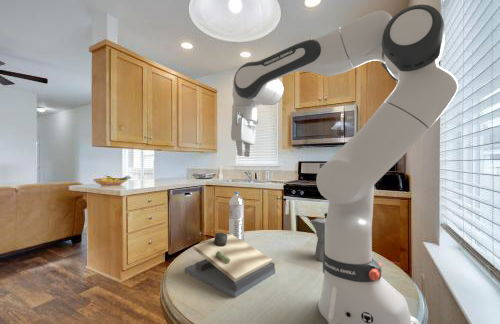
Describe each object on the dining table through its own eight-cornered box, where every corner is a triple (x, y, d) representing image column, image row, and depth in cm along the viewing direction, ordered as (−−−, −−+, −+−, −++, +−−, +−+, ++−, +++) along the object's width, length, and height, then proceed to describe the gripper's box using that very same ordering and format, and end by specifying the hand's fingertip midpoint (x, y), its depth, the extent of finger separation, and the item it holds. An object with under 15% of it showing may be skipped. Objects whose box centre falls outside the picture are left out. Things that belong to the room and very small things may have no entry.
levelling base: (275, 272, 81) (275, 262, 81) (235, 297, 65) (235, 285, 66) (226, 255, 96) (226, 246, 96) (184, 272, 81) (184, 261, 81)
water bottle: (241, 250, 102) (242, 192, 103) (226, 248, 104) (227, 192, 104) (245, 244, 109) (245, 191, 109) (231, 243, 110) (231, 190, 111)
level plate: (271, 262, 81) (273, 251, 80) (234, 282, 67) (237, 268, 66) (231, 237, 93) (233, 227, 93) (193, 249, 80) (195, 237, 79)
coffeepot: (311, 262, 90) (312, 215, 90) (307, 253, 99) (307, 210, 100) (353, 263, 89) (353, 216, 89) (344, 254, 98) (344, 211, 98)
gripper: (246, 109, 71) (245, 155, 71) (258, 121, 91) (258, 157, 91) (226, 110, 72) (225, 154, 72) (243, 121, 92) (242, 157, 92)
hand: (243, 156), depth 82 cm, fingers open, 8 cm apart
